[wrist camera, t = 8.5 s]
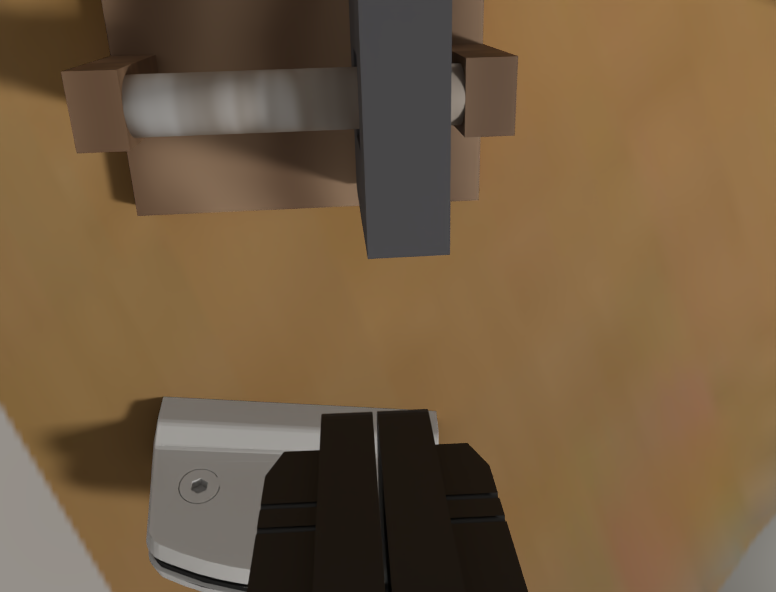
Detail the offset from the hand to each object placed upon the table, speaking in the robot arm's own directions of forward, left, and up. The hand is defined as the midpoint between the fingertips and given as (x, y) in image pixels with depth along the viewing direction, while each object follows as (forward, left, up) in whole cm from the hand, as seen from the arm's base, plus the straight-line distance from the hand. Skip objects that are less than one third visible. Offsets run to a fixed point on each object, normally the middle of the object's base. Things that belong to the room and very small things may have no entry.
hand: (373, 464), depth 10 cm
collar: (-2, -2, -26) cm, 26 cm away
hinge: (+3, +20, -28) cm, 35 cm away
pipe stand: (+2, -2, -28) cm, 28 cm away
